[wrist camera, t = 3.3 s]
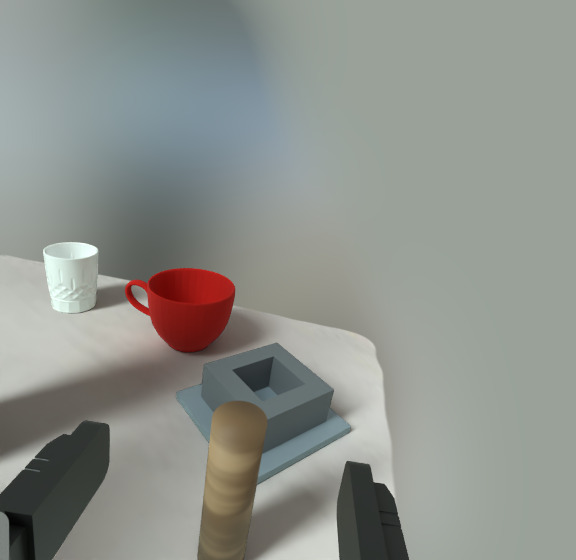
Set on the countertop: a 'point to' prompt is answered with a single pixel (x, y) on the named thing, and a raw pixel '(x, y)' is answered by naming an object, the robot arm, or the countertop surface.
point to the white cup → (71, 276)
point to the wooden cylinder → (231, 479)
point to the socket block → (269, 403)
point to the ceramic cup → (186, 306)
